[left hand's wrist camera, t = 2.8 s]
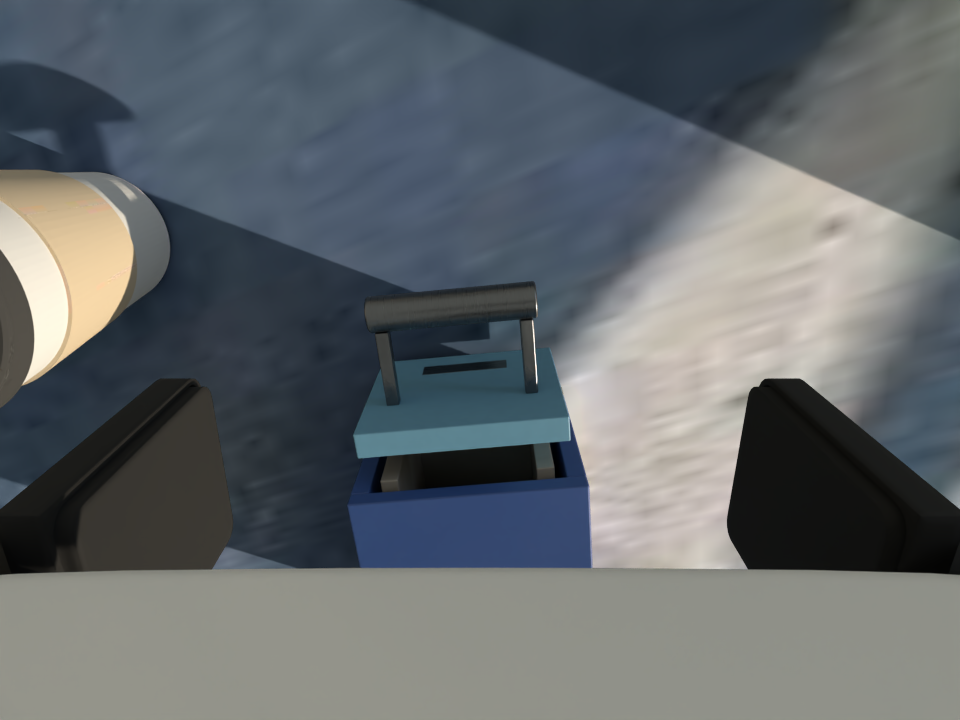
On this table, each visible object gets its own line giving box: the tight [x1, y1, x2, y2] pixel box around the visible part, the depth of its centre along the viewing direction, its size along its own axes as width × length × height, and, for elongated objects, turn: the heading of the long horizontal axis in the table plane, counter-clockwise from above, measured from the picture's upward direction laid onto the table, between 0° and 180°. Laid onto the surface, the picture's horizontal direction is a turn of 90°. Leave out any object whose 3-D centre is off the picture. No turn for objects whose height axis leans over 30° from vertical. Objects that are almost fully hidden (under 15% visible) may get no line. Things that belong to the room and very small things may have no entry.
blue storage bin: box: [347, 387, 592, 568], centre depth 34 cm, size 15×10×10 cm
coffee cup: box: [0, 170, 170, 408], centre depth 26 cm, size 9×9×15 cm
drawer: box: [353, 281, 570, 492], centre depth 32 cm, size 19×9×8 cm, turn 6°
